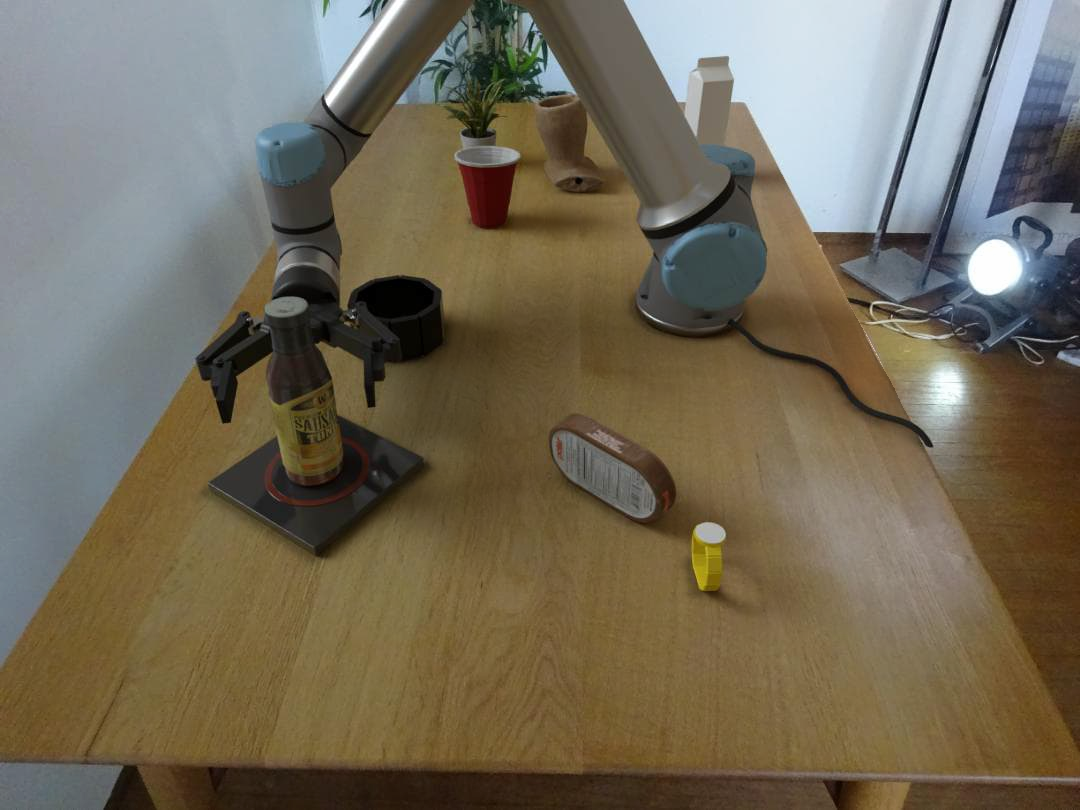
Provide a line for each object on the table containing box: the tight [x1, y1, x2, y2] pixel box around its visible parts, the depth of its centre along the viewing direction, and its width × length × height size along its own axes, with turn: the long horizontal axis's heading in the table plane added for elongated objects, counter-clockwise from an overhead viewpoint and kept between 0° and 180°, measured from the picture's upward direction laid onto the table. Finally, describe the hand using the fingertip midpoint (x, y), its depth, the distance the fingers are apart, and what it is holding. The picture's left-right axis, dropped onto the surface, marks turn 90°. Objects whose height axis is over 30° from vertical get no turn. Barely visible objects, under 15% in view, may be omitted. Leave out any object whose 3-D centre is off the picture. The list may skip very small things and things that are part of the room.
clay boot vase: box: [534, 93, 607, 193], centre depth 148 cm, size 15×12×15 cm
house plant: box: [436, 76, 508, 149], centre depth 155 cm, size 14×14×16 cm
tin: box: [548, 412, 677, 524], centre depth 82 cm, size 15×3×8 cm, turn 48°
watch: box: [691, 521, 727, 592], centre depth 75 cm, size 6×3×6 cm, turn 3°
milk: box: [683, 55, 735, 146], centre depth 147 cm, size 6×6×22 cm
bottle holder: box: [346, 274, 446, 363], centre depth 108 cm, size 12×12×6 cm
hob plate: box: [207, 414, 425, 557], centre depth 87 cm, size 16×16×1 cm
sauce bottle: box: [263, 297, 343, 486], centre depth 80 cm, size 7×6×20 cm
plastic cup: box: [454, 145, 521, 230], centre depth 135 cm, size 11×11×12 cm
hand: (297, 404), depth 77 cm, fingers open, 13 cm apart
